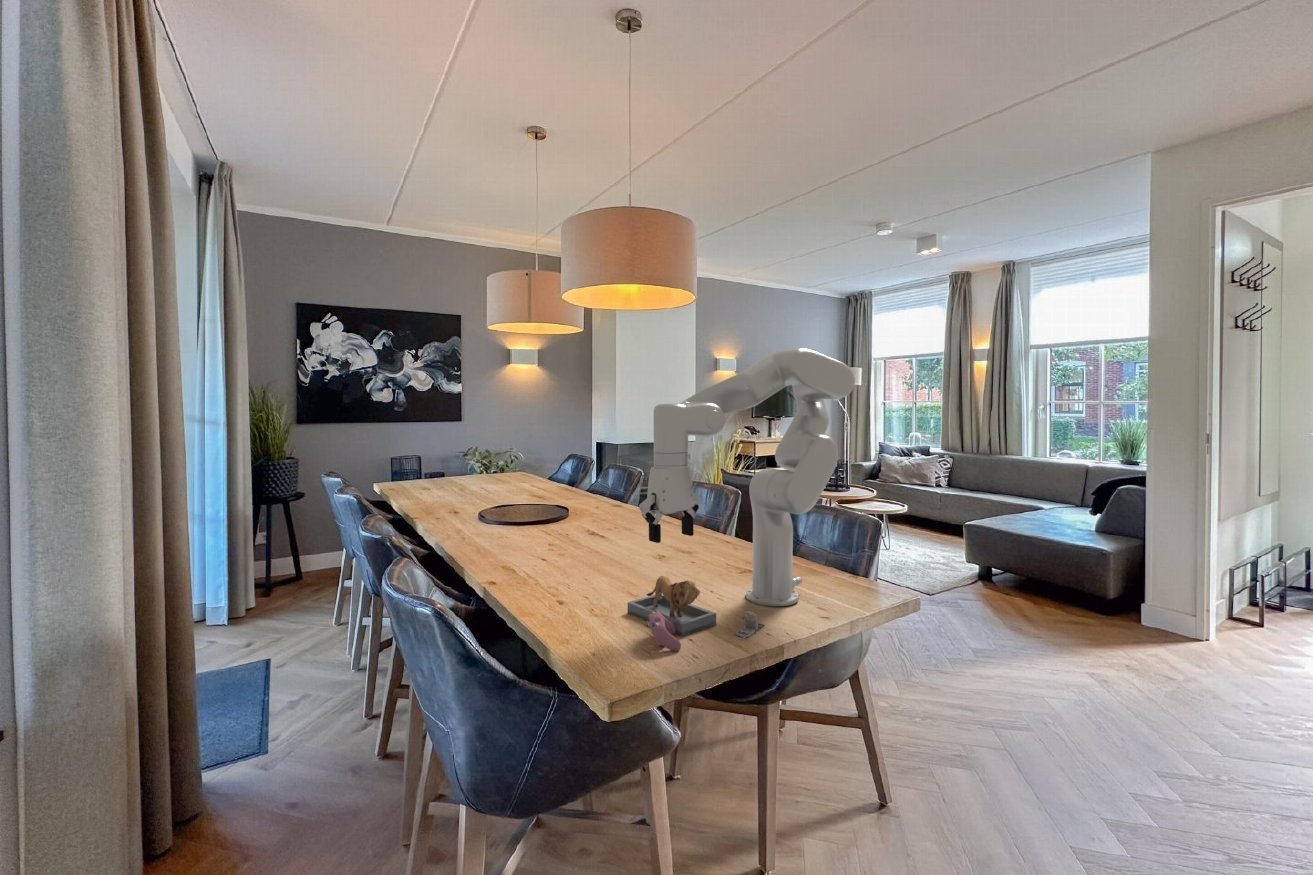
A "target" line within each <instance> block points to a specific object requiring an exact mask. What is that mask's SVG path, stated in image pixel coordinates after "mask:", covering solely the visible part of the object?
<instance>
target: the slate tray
mask: <svg viewBox="0 0 1313 875" xmlns="http://www.w3.org/2000/svg"><path fill="white" fill-rule="evenodd" d="M654 597H655V594H652V595H651V596H644V597H642V598H639V599H635V600H630V601H627V614H628V615H631V616H634V617H636V618H638V619H641V620H642V621H645V622H647V623H648V622H649V617H648V615H649V614H651V613H653V612H657V611H658V612H659V613H661V614H662V615H663V616H664V617H665V618H666V619H667V620H669V621H670V622H671V623H673V624H674V626H675V628H676V632H675V633H674V634H676V635H678V636H681V637H685V636H687V635H690V634H694V633H697V632H699V631H702V630H705V629H708V628H711V627H714V626H716V625H717V612H714V611H711V610H708V609H706V608H703V607H701V606H697V605H694V604H693V603H691V604H687V606H686V607H682V608H681V610H680V612H681V613H683V615H682V616H678V615H677V614H676V611H677V607H678V606H675V610H674V614H675V619H674V618H672V617H669V616H670V601H669V600H667V599H666V598H665V597H664V595H663V593H662V594H661V597H662V600H658V599H657V604H658V607H654V606H653V603H654Z"/></svg>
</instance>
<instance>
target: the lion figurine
mask: <svg viewBox="0 0 1313 875" xmlns="http://www.w3.org/2000/svg"><path fill="white" fill-rule="evenodd" d="M661 594H663V595H664V597H665V598H666V599H667V600H669V601H670V616H669V617H672V618H674V619H675V614H674V610H675V606H678V607H677V611H676V614H677V615H678V616H682V615H683V613H681V612H680V610H681V608H682V607H686V606H687V604H693V603H694V602H695V600H696V599H698V596H700V594H701V590H700V589H698V588H697V586H696V584H695V581H694V580H689V579H688V580H685V581H684V580H683V581H680V582H675V583H672V582H671V580H670V578H669V577H668V576H665V575H660V576H659V577H658V578H657V579H656V582H655V586H654V588H653V590H652V591H651V592H648V593H647V594H646V597H649V596H652V595H655V597H654V603H653V606H654V607H658V604H657V599H658V600H662V597H661Z"/></svg>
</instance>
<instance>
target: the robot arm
mask: <svg viewBox="0 0 1313 875" xmlns="http://www.w3.org/2000/svg"><path fill="white" fill-rule="evenodd" d="M854 375H855V374H854V373H853V371H852V369H851V368H850V367H849V366H848V365H847V364H846V363H844V362H842V361H839V360H837V359H835V358H832V357H830V356H827V355H824V354H823V353H820V352H818V351H815V350H812V349H809V348H804V347H803V348H802V347H801V348H793V349H791V348H790V349H784V350H778V351H774V352H772V353H771V354H769V355H767V356H765V357H763V358H762V359H760V360H759V361H757V362H755V363H754V364H752V365H751V366H749V367H748V368H746V369H744V370H742V371H741V372H738V373H737V374H736V375H733V376H731V377H729V378H726V379H724V380H722V381H720V382H718V383H716V384H715V383H714V384H713V385H710V386H708V387H706V388H704V389H702V390H700V391H698V392H696V393H694V394H692V395H691V396H688V398H686V399H684V400H683V401H681V402H680V403H660V404H656V405H655V407H654V409H653V466H651V468H650V470H649V476H648V482H647V495H646V498H645V499H644V500H643V501H642V502H641V503H639V505H638V507H639V510H640V513H641V516H642V517H643V519H644V520H645V522H646V523H647V524H648V540H649V542H653V543H655V544H656V543H657V544H659V543H661V541H662V536H661V534H662V533H661V531H662V530H661V525H662V524H660V523H659V522H660V521H661V519H662V517H663V515H669V514H671V515H672V514H676V513H682V514H683V516H681V534H682V535H684V536H689V537H692V536H694V518H696V515H697V512H698V510H699V508H700V503H701V500H702V496H701V495H699V494H698V493H695V492H694V488H693V478H692V470H691V467H690V465H689V460H690V459H691V455H690V453H689V436H694V437H695V436H696V437H702V438H703V437H705V438H706V437H712V436H716V435H717V434H719V433H720V432H721V431H722V430H723V428H724V426H725V425H726V415H725V414H729V413H733V412H738V411H746V410H747V409H748V410H749V409H751V408H753V407H754V408H755V407H757V406H758V405H760V404H761V403H763V401H765V400H768V398H770V397H772V396H773V395H775V394H777V393H778V392H780V391H781V390H783V389H784V388H786V387H788V386H789V387H790V386H792V387H791V388H792V392H793V395H794V398H795V403H796V411H795V414H794V417H793V419H792V421H791V422H790V424H789V425H788V427H787V429H786V431H785V433H784V435H783V436H782V438H781V439H780V441H779V443H778V444H777V447H776V450H775V452H774V458H775V459H774V460H775V462H776V463H777V465H778V466H779V467H780V468H782V469H778V468H765V469H761V470H759V471H757V473H755V474H754V475H753V476H752V477H751V480H750V481H749V485H748V486H749V488H748V490H749V499H750V504H751V512H752V587H751V588H749V589H747V590H746V592H745V597H746V599H747V600H748V601H749V602H752V603H754V604H756V605H762V606H768V607H787V606H792V605H794V604H796V603H797V602H799V600H800V598H799V597H800V596H799V594H798V593H797V591H795V590H794V588H795V587H797V586H799V585H800V586H801V584H802V583H803V580H802V578H801V577H800V576H796V577H793V558H794V556H793V550H794V549H793V548H794V542H793V541H794V525H793V520H792V517H791V514H794V515H802V514H806V513H808V512H809V511H811V510H812V509H813V507H814V506H815V505H816V504H817V502H818V501H819V499H820V497H821V495H822V494H823V491H824V489H825V488H826V487H827V485H828V482H829V481H830V479H831V477H832V476H833V474H834V471H835V470H836V467H837V464H838V459H839V451H838V450H839V449H838V447H837V444H836V443H835V441H834V439H832V438H831V437H829V435H825V434H826V431H827V429H828V428H829V423H830V422H829V421H830V419H829V414H828V410H827V407H826V403H825V400H839V399H840V400H841V399H843V398H845V397H847V396H849V395H850V393H852V391H853V389H854V387H855V376H854Z"/></svg>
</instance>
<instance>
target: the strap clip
mask: <svg viewBox="0 0 1313 875" xmlns="http://www.w3.org/2000/svg"><path fill="white" fill-rule="evenodd" d="M747 615H750V616H754V618H752V617H748V616H747ZM758 619H759V618H758V615H757V613H755V612H753V611H749V610H748V611H745V612H744V614H743V622H744V623H743V624H744V627H741V628H740V629H738V630H737V631H736V633H735V636H736V635H737V636H736V637H738V636H740V637H739V638H742V637H745V638H744V639H749V637H750V636H751V637H753V636H754V635H755V634H756V632H759V631H761V630H762V628H763V629H764V628H765V627H764V626H765V624H763V623H759V621H758ZM760 625H763V626H760ZM754 633H755V634H754ZM753 634H754V635H753ZM751 637H750V638H751Z"/></svg>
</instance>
